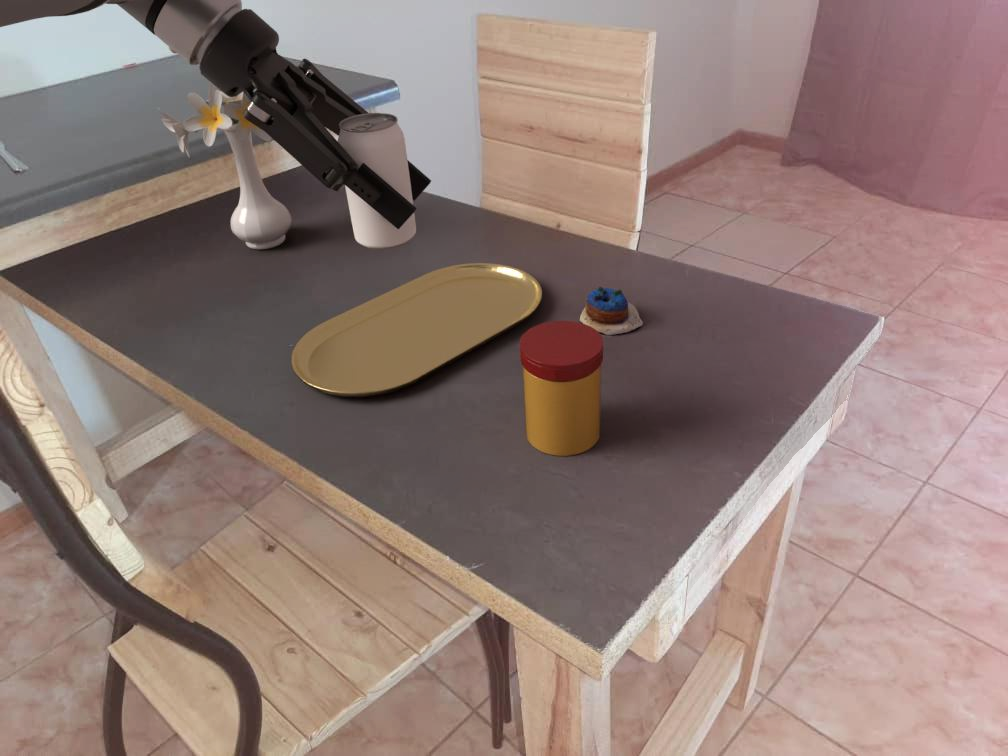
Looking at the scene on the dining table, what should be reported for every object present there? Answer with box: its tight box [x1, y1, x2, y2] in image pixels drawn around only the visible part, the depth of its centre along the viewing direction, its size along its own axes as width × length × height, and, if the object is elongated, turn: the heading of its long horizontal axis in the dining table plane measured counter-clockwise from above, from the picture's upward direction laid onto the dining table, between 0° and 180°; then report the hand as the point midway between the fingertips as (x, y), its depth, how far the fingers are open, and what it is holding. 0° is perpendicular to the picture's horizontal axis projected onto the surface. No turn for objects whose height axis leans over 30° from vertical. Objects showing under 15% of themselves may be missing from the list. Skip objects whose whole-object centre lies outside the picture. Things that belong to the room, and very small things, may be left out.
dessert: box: [579, 286, 644, 336], centre depth 97 cm, size 8×7×6 cm
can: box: [337, 112, 417, 250], centre depth 78 cm, size 6×6×12 cm
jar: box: [522, 364, 602, 457], centre depth 77 cm, size 8×8×10 cm
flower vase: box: [156, 81, 293, 251], centre depth 116 cm, size 13×18×25 cm
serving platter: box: [290, 262, 543, 398], centre depth 98 cm, size 19×35×2 cm, turn 135°
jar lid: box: [519, 320, 604, 381], centre depth 74 cm, size 8×8×2 cm
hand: (415, 204), depth 79 cm, fingers closed on can, 6 cm apart
